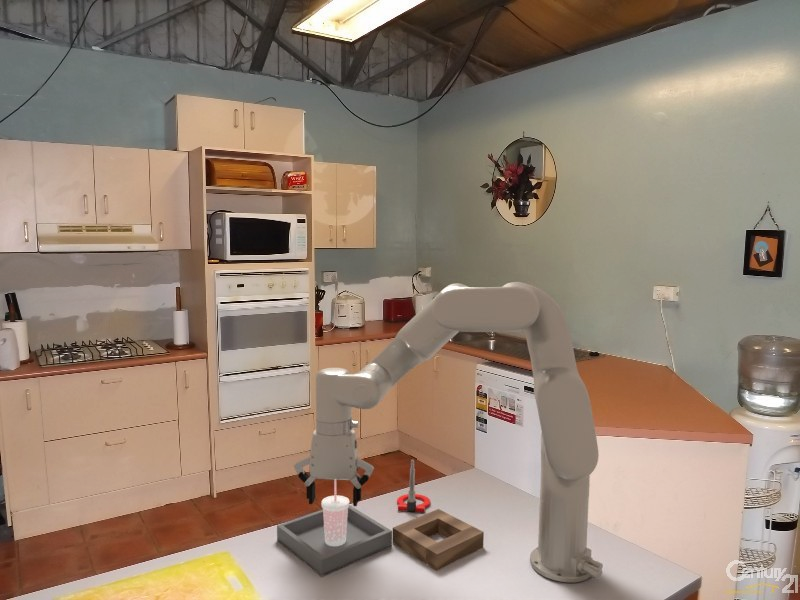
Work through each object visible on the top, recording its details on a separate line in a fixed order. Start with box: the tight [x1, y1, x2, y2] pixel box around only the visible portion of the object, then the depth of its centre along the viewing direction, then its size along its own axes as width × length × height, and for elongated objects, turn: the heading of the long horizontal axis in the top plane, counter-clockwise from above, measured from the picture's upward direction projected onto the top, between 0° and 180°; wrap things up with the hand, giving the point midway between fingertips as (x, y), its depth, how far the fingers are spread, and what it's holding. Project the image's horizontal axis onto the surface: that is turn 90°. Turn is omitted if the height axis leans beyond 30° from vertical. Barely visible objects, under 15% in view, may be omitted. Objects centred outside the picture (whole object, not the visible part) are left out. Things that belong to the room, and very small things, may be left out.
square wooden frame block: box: [392, 508, 484, 572], centre depth 126 cm, size 14×14×4 cm
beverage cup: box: [320, 479, 350, 546], centre depth 126 cm, size 6×6×14 cm
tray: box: [276, 504, 393, 578], centre depth 127 cm, size 18×18×4 cm
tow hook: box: [396, 459, 431, 513], centre depth 146 cm, size 8×13×9 cm
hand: (333, 502), depth 126 cm, fingers open, 9 cm apart
